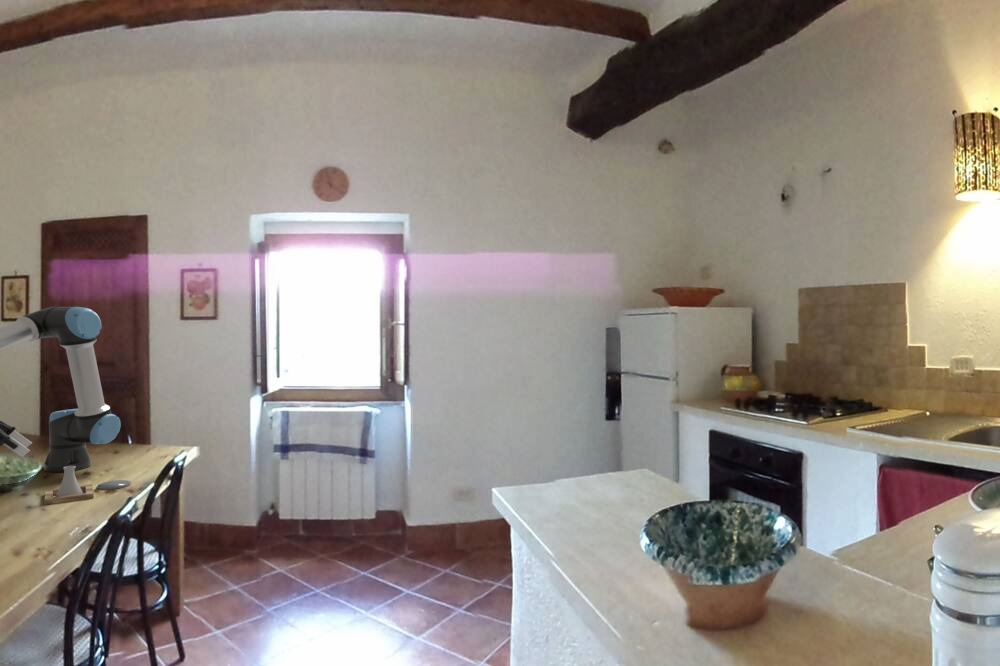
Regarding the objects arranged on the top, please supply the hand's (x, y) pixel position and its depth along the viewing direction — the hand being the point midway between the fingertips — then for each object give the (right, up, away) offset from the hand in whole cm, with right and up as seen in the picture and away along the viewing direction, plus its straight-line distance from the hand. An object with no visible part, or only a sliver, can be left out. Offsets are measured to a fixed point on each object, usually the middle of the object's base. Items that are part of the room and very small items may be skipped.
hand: (27, 450), depth 192 cm
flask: (+8, -17, +7) cm, 20 cm away
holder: (+8, -17, +7) cm, 20 cm away
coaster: (+15, -17, +20) cm, 30 cm away
